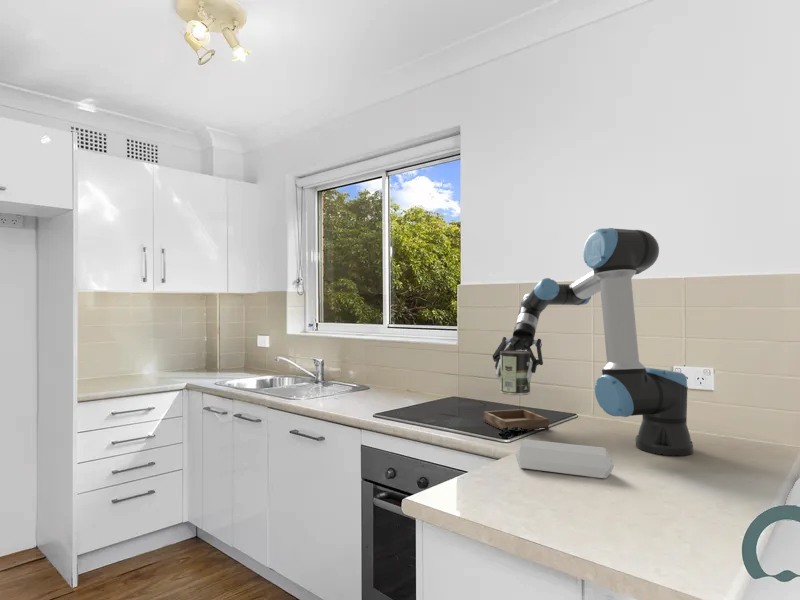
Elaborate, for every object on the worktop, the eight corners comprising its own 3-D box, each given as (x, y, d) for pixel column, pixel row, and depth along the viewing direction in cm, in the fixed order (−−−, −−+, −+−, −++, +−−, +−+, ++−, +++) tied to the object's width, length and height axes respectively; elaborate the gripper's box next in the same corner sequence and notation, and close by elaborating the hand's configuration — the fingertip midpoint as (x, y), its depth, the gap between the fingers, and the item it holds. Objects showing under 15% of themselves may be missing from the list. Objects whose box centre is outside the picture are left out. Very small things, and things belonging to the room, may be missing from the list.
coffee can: (529, 390, 190) (530, 350, 190) (530, 396, 180) (531, 353, 180) (499, 389, 192) (500, 349, 192) (499, 394, 182) (499, 352, 182)
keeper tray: (548, 429, 180) (548, 418, 180) (505, 432, 176) (505, 421, 176) (523, 418, 196) (523, 409, 196) (483, 421, 191) (483, 411, 191)
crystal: (613, 455, 139) (519, 445, 148) (613, 447, 133) (515, 437, 142) (613, 485, 136) (516, 472, 145) (613, 478, 130) (512, 466, 139)
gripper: (558, 337, 194) (548, 387, 180) (497, 334, 204) (483, 381, 191) (555, 322, 189) (544, 373, 175) (493, 320, 200) (478, 368, 186)
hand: (512, 378), depth 183 cm, fingers closed on coffee can, 10 cm apart
